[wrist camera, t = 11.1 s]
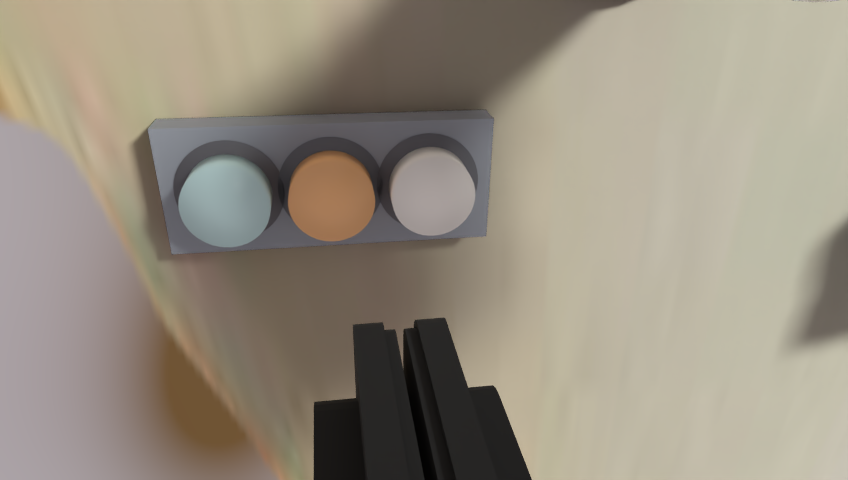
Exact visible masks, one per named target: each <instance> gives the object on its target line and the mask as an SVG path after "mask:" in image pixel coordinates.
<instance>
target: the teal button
mask: <svg viewBox="0 0 848 480" xmlns="http://www.w3.org/2000/svg"><path fill="white" fill-rule="evenodd" d="M272 198H273V196H272V188H271V185H270V182H269V180H268V178H267V176H266V175H265V173H264V172H263V171H262V170H261V169H260V168H259V167H258V166H257V165H256V164H254V163H253V162H251V161H249V160H248V159H245V158H243V157H240V156H236V155H228V154H223V155H216V156H212V157H209V158H206V159H204V160H203V161H201V162H200V163H198V164H197V165H196V166H195V167H194V168H193V169H192V171H191V172H190V174H189V175H188V177H187V179H186V181H185V183H184V185H183V187H182V189H181V192H180V195H179V201H178V207H179V213H180V216H181V219H182V221H183V223H184V225H185V226H186V227H187V229H188V230H189V231H190V232H191V233H192V234H193V235H194V236H196V237H197V238H198V239H200V240H201V241H203V242H205V243H208V244H211V245H214V246H218V247H237V246H241V245H244V244H247V243H249V242H251V241H253V240H254V239H256V238H257V237H258V236H259V235H260V234H261V233H262V232H263V231H264V229H265V228H266V226H267V224H268V221H269V218H270V212H271V206H272Z"/></svg>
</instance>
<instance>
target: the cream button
mask: <svg viewBox="0 0 848 480" xmlns="http://www.w3.org/2000/svg"><path fill="white" fill-rule="evenodd" d="M389 194H390V198H391V202H392V205H393V209H394V212H395V215H396V216H397V218H398V220H399V221H400V222H401V223H402V224H403V225H404V226H405V227H406V228H407V229H409V230H411V231H412V232H415V233H417V234H421V235H427V236H435V235H441V234H445V233H448V232H450V231H452V230H454V229H455V228H457V227H458V226H460V225H461V224H462V223H463V222H464V221H465V220H466V219H467V217H468V216H469V214H470V213H471V211H472V208H473V206H474V202H475V186H474V183H473V180H472V178H471V176H470V174H469V173H468V171H467V169H466V168H465V166H464V164H463V163H462V161H461V160H460V159H459V158H458V157H457V156H456V155H455V154H453V153H452V152H450V151H448V150H446V149H443V148H438V147H423V148H419V149H416V150H414V151H412V152H410V153H408V154H407V155H405V156H404V157H403V158H402V159H400V161H399V162H398V163H397V164H396V166H395V167H394V169H393V171H392V173H391V176H390V180H389Z"/></svg>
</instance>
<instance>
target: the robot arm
mask: <svg viewBox="0 0 848 480" xmlns="http://www.w3.org/2000/svg"><path fill="white" fill-rule="evenodd" d="M793 1H805V2H828V1H838V0H793ZM353 339H354V360H355V382H356V398H353V399H342V400H332V401H321V402H314V480H532V479H531V477H530V474H529V471H528V469H527V466H526V464H525V461H524V458H523V456H522V453H521V451H520V448H519V446H518V443H517V440H516V438H515V435H514V433H513V430H512V427H511V425H510V422H509V420H508V417H507V414H506V412H505V409H504V407H503V404H502V401H501V399H500V396H499V394H498V392H497V390H496V388H495V387H494V386H482V387H471V388H468V386H467V383H466V380H465V377H464V374H463V371H462V368H461V365H460V362H459V359H458V356H457V352H456V349H455V346H454V343H453V340H452V337H451V334H450V331H449V328H448V325H447V322H446V319H445V318H434V319H421V320H415V321H414V328H407V329H404V334H403V366H402V361H401V356H400V351H399V346H398V341H397V336H396V331H395V329H394V330H384V325H383V322H381V323H368V324H355V325H353Z"/></svg>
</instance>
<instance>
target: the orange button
mask: <svg viewBox="0 0 848 480" xmlns="http://www.w3.org/2000/svg"><path fill="white" fill-rule="evenodd" d="M288 207H289V212H290V215H291V217H292V219H293V221H294V223H295V224H296V225H297V226H298V228H299V229H300V230H302V231H303V232H304V233H306V234H307V235H309V236H311V237H313V238H315V239H318V240H322V241H341V240H345V239H348V238H351V237H352V236H354V235H356V234H358V233H359V232H360V231H362V230H363V229H364V228H365V227H366V225H367V224H368V223H369V221H370V220H371V218H372V215H373V213H374V208H375V195H374V190H373V185H372V181H371V177H370V175H369V173H368V171H367V169H366V168H365V166H364V165H363V164H362V163H361V162H360V161H359V160H357V159H356V158H355V157H353V156H351V155H349V154H347V153H344V152H340V151H321V152H317V153H315V154H312V155H310V156H308V157H307V158H305V159H304V160H303V161H302V162H301V163H299V165H298V166H297V167H296V169H295V170H294V172H293V174H292V176H291V180H290V185H289V195H288Z"/></svg>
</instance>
